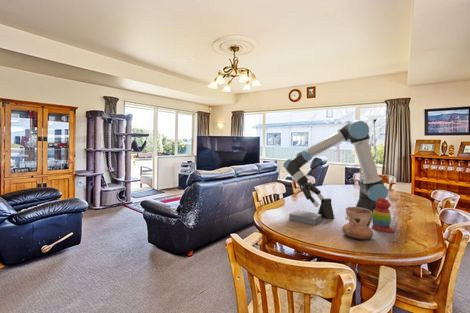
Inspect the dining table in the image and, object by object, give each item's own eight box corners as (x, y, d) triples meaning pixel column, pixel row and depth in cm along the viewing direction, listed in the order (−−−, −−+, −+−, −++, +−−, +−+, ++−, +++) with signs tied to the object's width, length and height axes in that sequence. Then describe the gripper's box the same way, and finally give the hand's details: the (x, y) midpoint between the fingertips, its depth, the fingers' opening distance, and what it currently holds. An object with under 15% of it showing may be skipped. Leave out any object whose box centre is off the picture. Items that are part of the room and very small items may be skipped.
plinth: (321, 220, 159) (321, 214, 158) (314, 225, 149) (314, 219, 149) (297, 214, 168) (297, 209, 168) (289, 219, 159) (289, 213, 159)
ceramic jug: (356, 244, 123) (358, 215, 122) (334, 233, 136) (335, 207, 135) (382, 239, 130) (384, 212, 129) (358, 229, 143) (360, 204, 142)
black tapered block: (334, 218, 162) (335, 200, 161) (327, 219, 160) (328, 200, 159) (324, 214, 170) (324, 196, 169) (317, 215, 168) (317, 197, 167)
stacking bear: (395, 233, 138) (397, 201, 136) (374, 231, 140) (376, 200, 138) (387, 226, 148) (389, 196, 147) (368, 225, 150) (370, 195, 149)
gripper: (304, 179, 185) (323, 203, 177) (288, 184, 166) (310, 211, 158) (311, 173, 182) (331, 197, 174) (296, 177, 162) (318, 204, 154)
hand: (321, 204), depth 166 cm, fingers open, 13 cm apart
